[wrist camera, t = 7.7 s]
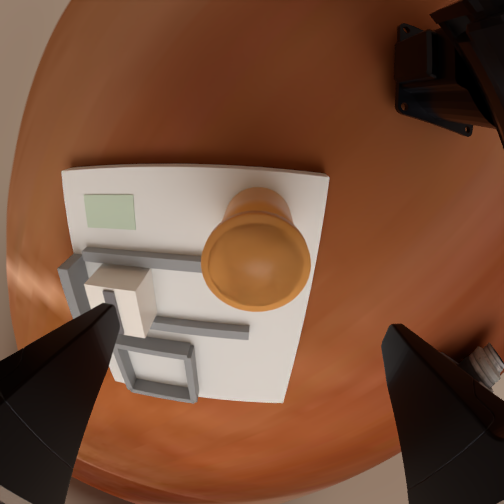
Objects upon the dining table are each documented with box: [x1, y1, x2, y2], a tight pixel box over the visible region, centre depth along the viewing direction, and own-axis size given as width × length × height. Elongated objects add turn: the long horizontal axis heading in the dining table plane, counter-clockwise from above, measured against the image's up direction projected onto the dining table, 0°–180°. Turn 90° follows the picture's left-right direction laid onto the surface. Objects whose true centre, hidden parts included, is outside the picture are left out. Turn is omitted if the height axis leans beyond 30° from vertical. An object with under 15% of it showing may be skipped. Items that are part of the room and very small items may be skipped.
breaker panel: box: [57, 164, 330, 403], centre depth 20 cm, size 18×22×4 cm
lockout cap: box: [201, 187, 311, 312], centre depth 14 cm, size 5×5×6 cm
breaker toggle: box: [84, 263, 157, 338], centre depth 18 cm, size 4×4×3 cm
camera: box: [440, 343, 504, 393], centre depth 21 cm, size 16×8×10 cm, turn 57°
